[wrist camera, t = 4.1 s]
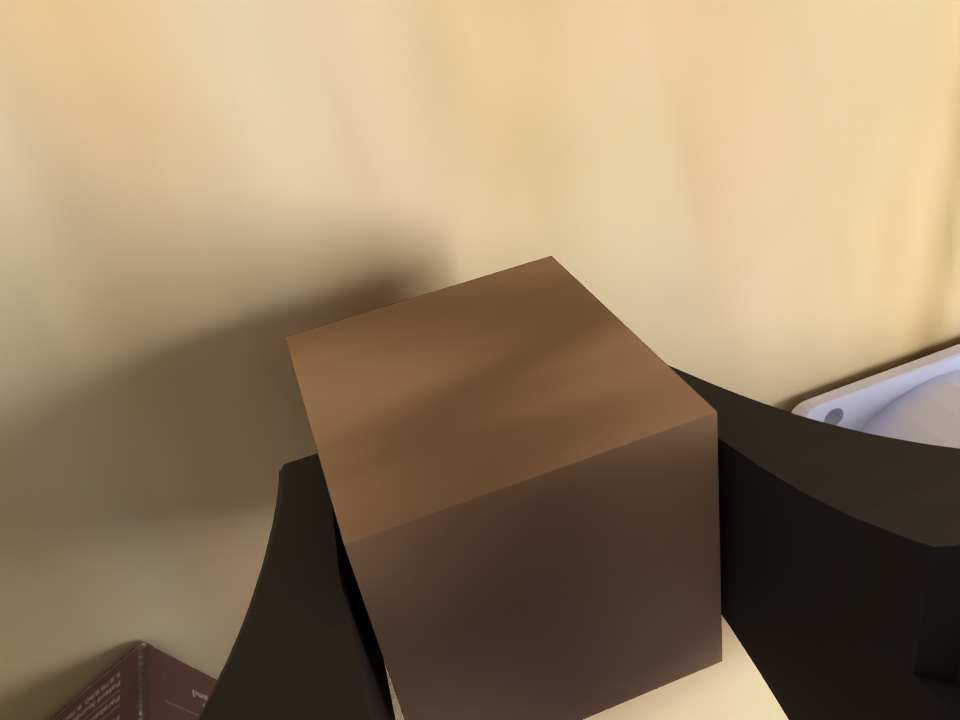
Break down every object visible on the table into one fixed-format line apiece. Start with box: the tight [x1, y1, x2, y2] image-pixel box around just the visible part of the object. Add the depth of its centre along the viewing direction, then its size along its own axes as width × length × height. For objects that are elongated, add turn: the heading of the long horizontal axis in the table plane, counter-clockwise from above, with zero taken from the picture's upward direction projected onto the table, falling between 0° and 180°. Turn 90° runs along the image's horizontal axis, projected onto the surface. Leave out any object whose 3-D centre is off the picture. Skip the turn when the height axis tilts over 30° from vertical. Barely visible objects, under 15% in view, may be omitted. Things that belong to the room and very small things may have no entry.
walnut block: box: [285, 256, 722, 720], centre depth 13 cm, size 4×4×5 cm
